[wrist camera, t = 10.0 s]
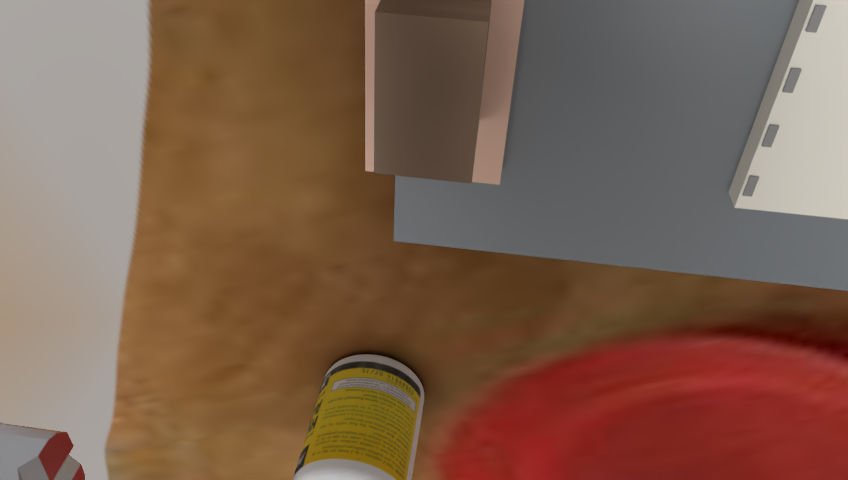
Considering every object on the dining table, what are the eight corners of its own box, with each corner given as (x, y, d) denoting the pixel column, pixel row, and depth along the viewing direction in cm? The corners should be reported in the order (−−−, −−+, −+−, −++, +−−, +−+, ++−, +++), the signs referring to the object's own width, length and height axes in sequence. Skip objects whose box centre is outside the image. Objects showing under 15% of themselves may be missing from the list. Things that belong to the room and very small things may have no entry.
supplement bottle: (315, 349, 37) (258, 523, 29) (420, 350, 36) (390, 531, 28) (333, 418, 40) (286, 592, 32) (430, 421, 39) (405, 600, 31)
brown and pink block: (539, -120, 21) (541, -77, 17) (500, 170, 27) (495, 251, 23) (370, -133, 21) (334, -94, 17) (370, 157, 27) (343, 234, 23)
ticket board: (1250, -247, 19) (1339, -241, 17) (924, 276, 30) (953, 320, 28) (415, -299, 20) (402, -299, 18) (398, 220, 31) (389, 257, 29)
